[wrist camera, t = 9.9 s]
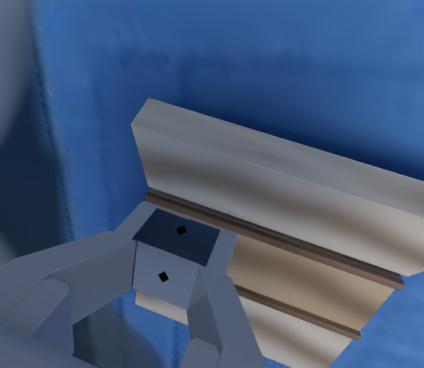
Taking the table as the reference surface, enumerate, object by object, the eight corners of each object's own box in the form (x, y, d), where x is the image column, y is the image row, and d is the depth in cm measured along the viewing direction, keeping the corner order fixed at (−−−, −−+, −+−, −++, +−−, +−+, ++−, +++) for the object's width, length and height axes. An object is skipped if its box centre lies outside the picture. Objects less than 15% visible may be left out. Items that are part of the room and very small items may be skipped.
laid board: (351, 310, 26) (357, 340, 23) (152, 237, 28) (138, 257, 26) (392, 257, 22) (404, 285, 20) (161, 178, 25) (145, 194, 22)
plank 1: (407, 246, 21) (407, 276, 20) (160, 164, 23) (148, 186, 22) (497, 203, 15) (506, 243, 13) (148, 97, 17) (130, 124, 16)
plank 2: (317, 355, 30) (318, 378, 28) (145, 287, 32) (135, 304, 30) (348, 316, 26) (352, 339, 24) (151, 242, 28) (140, 258, 26)
